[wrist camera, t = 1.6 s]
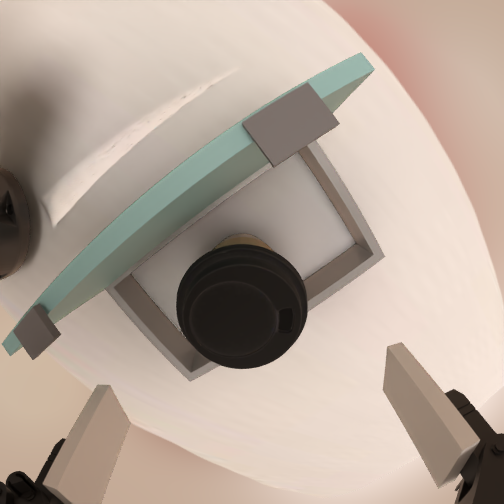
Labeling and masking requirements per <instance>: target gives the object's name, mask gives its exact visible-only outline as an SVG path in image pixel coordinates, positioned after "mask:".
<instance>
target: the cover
mask: <svg viewBox="0 0 504 504" xmlns="http://www.w3.org/2000/svg"><path fill="white" fill-rule="evenodd" d="M374 70H375V69H374V68H373V66H372V65H371V64H370V63H369V61H368V60H367V59H366V58H365V56H364V55H363V54H362V53H359V54H356V55H354V56H352V57H350V58H348V59H346V60H344V61H342V62H340V63H338V64H336V65H334V66H332V67H330V68H329V69H327V70H325V71H323V72H321V73H319V74H317V75H315V76H314V77H312V78H310V79H308V80H306V81H305V82H303V83H301V84H299V85H298V86H296V87H294V88H292V89H291V90H289V91H287V92H286V93H284V94H282V95H281V96H279V97H277V98H276V99H274V100H272V101H271V102H269V103H268V104H266V105H264V106H263V107H261V108H260V109H258V110H256V111H255V112H253V113H252V114H250V115H249V116H247V117H246V118H244V119H243V120H241V121H240V122H238V123H237V124H235V125H234V126H232V127H231V128H229V129H228V130H227V131H225V132H224V133H222V134H221V135H219V136H218V137H217V138H215V139H214V140H212V141H211V142H210V143H208V144H207V145H205V146H204V147H203V148H201V149H200V150H199V151H197V152H196V153H195V154H193V155H192V156H191V157H189V158H188V159H187V160H185V161H184V162H183V163H181V164H180V165H179V166H178V167H176V168H175V169H174V170H173V171H171V172H170V173H169V174H167V175H166V176H165V177H164V178H163V179H161V180H160V181H159V182H158V183H156V184H155V185H154V186H153V187H152V188H150V189H149V190H148V191H147V192H146V193H144V194H143V195H142V196H141V197H140V198H139V199H137V200H136V201H135V202H134V203H133V204H132V205H131V206H129V207H128V208H127V209H126V210H125V211H124V212H123V213H122V214H120V215H119V216H118V217H117V218H116V219H115V220H114V221H113V222H112V223H111V224H110V225H108V226H107V227H106V228H105V229H104V230H103V231H102V232H101V233H100V234H99V235H98V236H97V237H96V238H95V239H94V240H93V241H92V242H91V243H90V244H89V245H88V246H87V247H86V248H85V249H84V250H83V251H82V252H81V253H80V254H79V255H78V256H77V257H76V258H75V259H74V260H73V261H72V262H71V263H70V264H69V265H68V266H67V267H66V268H65V269H64V270H63V271H62V272H61V273H60V275H59V276H58V277H57V278H56V279H55V280H54V281H53V282H52V283H51V284H50V285H49V287H48V288H47V289H46V290H45V291H44V292H43V293H42V295H41V296H40V297H39V298H38V299H37V300H36V302H35V303H34V304H33V305H32V306H31V307H30V309H29V310H28V311H27V312H26V313H25V315H24V316H23V317H22V318H21V320H20V321H19V322H18V323H17V325H16V326H15V327H14V329H13V330H12V331H11V333H10V334H9V335H8V336H7V338H6V339H5V340H4V342H3V343H2V345H3V346H4V348H5V349H6V351H7V352H8V354H9V355H10V356H11V355H13V354H14V353H15V352H16V351H18V350H19V349H20V348H22V347H24V348H25V350H26V351H27V353H28V354H29V355H30V357H31V358H32V360H34V359H35V358H36V357H38V356H39V355H40V354H41V353H42V352H43V351H44V350H45V349H46V348H47V347H48V346H49V345H50V344H52V343H53V342H54V341H55V340H56V339H57V338H58V337H59V336H60V335H61V334H60V332H59V331H58V329H57V328H56V327H55V325H54V324H55V323H56V322H58V321H59V320H61V319H62V318H63V317H65V316H66V315H68V314H69V313H71V312H72V311H73V310H75V309H76V308H78V307H79V306H81V305H82V304H84V303H85V302H87V301H88V300H90V299H91V298H92V297H94V296H95V295H97V294H98V293H100V292H101V291H103V290H104V289H105V288H106V287H108V286H109V285H110V284H111V283H112V282H113V281H115V280H116V279H117V278H118V277H119V276H120V275H122V274H123V273H124V272H125V271H126V270H128V269H129V268H130V267H131V266H132V265H134V264H135V263H136V262H137V261H139V260H140V259H141V258H142V257H143V256H145V255H146V254H147V253H148V252H150V251H151V250H152V249H153V248H155V247H156V246H157V245H158V244H160V243H161V242H162V241H163V240H165V239H166V238H167V237H168V236H170V235H171V234H172V233H174V232H175V231H176V230H177V229H179V228H180V227H181V226H183V225H184V224H185V223H187V222H188V221H189V220H190V219H192V218H193V217H194V216H196V215H197V214H198V213H200V212H201V211H202V210H204V209H205V208H206V207H208V206H209V205H210V204H212V203H213V202H214V201H216V200H217V199H219V198H220V197H221V196H223V195H224V194H225V193H227V192H228V191H230V190H231V189H232V188H234V187H235V186H237V185H238V184H239V183H241V182H242V181H244V180H245V179H246V178H248V177H249V176H251V175H252V174H254V173H255V172H256V171H258V170H259V169H261V168H262V167H264V166H265V165H267V164H268V163H270V164H271V165H272V167H273V168H274V167H275V166H277V165H278V164H280V163H281V162H283V161H284V160H286V159H287V158H289V157H290V156H292V155H293V154H295V153H296V152H298V151H299V150H301V149H302V148H304V147H305V146H307V145H308V144H310V143H312V142H313V141H315V140H316V139H318V138H319V137H321V136H322V135H324V134H326V133H327V132H329V131H330V130H332V129H333V128H335V127H336V126H338V125H339V124H340V123H339V122H338V121H337V119H336V118H335V116H334V115H333V114H332V113H333V112H334V111H335V110H336V109H337V108H338V107H339V106H340V105H341V104H342V103H343V102H344V101H345V100H346V99H347V98H348V97H349V96H350V94H351V93H352V92H353V91H354V90H355V89H356V88H357V87H358V86H359V85H360V84H361V83H362V82H363V81H364V80H365V79H366V78H367V77H368V76H369V75H370V74H371V73H372V72H373V71H374Z"/></svg>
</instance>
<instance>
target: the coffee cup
mask: <svg viewBox="0 0 504 504" xmlns="http://www.w3.org/2000/svg"><path fill="white" fill-rule="evenodd" d="M176 310H177V318H178V322H179V325H180V328H181V330H182V332H183V334H184V335H185V337H186V338H187V340H188V341H189V342H190V344H191V345H192V346H193V347H194V348H195V349H196V350H197V351H198V352H199V353H200V354H201V355H203V356H204V357H205V358H207V359H208V360H210V361H212V362H214V363H216V364H219V365H221V366H225V367H229V368H235V369H249V368H256V367H260V366H263V365H266V364H268V363H270V362H272V361H274V360H276V359H278V358H279V357H280V356H282V355H283V354H284V353H285V352H286V351H287V350H288V349H289V348H290V347H291V346H292V345H293V344H294V343H295V341H296V340H297V339H298V337H299V336H300V334H301V332H302V330H303V328H304V325H305V322H306V318H307V312H308V302H307V293H306V289H305V285H304V283H303V280H302V278H301V276H300V275H299V273H298V272H297V270H296V269H295V268H294V267H293V265H292V264H291V263H290V262H288V261H287V260H286V259H285V258H284V257H282V256H281V255H279V254H277V253H276V252H274V251H273V250H272V249H271V248H270V247H269V246H268V245H267V244H265V243H264V242H262V241H261V240H260V239H259V238H257V237H255V236H253V235H250V234H235V235H232V236H229V237H228V238H226V239H225V240H224V241H222V242H221V243H220V244H219V245H217V246H216V247H215V248H214V249H213V250H212V251H210V252H208V253H206V254H205V255H203V256H202V257H200V258H199V259H198V260H197V261H195V262H194V263H193V264H192V265H191V266H190V268H189V269H188V270H187V272H186V273H185V275H184V276H183V278H182V280H181V282H180V285H179V288H178V292H177V302H176Z"/></svg>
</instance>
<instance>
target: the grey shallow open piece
mask: <svg viewBox="0 0 504 504" xmlns="http://www.w3.org/2000/svg"><path fill="white" fill-rule="evenodd" d="M298 152H299V153H300V155H301V156H302V158H303V159H304V160H305V162H306V163H307V165H308V166H309V168H310V169H311V171H312V172H313V174H314V175H315V177H316V178H317V180H318V181H319V183H320V185H321V186H322V188H323V189H324V191H325V192H326V194H327V195H328V197H329V199H330V200H331V202H332V203H333V205H334V207H335V208H336V210H337V211H338V213H339V215H340V216H341V218H342V220H343V221H344V223H345V225H346V226H347V228H348V230H349V231H350V233H351V235H352V237H353V238H354V240H355V242H356V244H355V245H354V246H352V247H351V248H350V249H348V250H347V251H345V252H344V253H343V254H341V255H340V256H338V257H337V258H336V259H334V260H333V261H331V262H330V263H329V264H327V265H326V266H324V267H323V268H321V269H320V270H319V271H317V272H316V273H314V274H313V275H311V276H310V277H308V278H307V279H305V280H304V281H303V283H304V285H305V289H306V293H307V302H308V311H309V310H311V309H312V308H314V307H315V306H317V305H318V304H320V303H321V302H323V301H324V300H326V299H327V298H329V297H330V296H331V295H333V294H334V293H336V292H337V291H339V290H340V289H342V288H343V287H344V286H346V285H347V284H349V283H350V282H351V281H353V280H354V279H356V278H357V277H358V276H360V275H361V274H362V273H364V272H365V271H367V270H368V269H369V268H371V267H372V266H373V265H375V264H376V263H377V262H379V261H380V260H381V259H383V258H384V257H385V256H384V254H383V252H382V250H381V248H380V246H379V244H378V242H377V240H376V238H375V237H374V235H373V233H372V231H371V229H370V227H369V226H368V224H367V222H366V220H365V218H364V217H363V215H362V213H361V211H360V210H359V208H358V206H357V204H356V203H355V201H354V199H353V198H352V196H351V194H350V193H349V191H348V189H347V188H346V186H345V184H344V183H343V181H342V180H341V178H340V176H339V175H338V173H337V172H336V170H335V168H334V167H333V165H332V164H331V162H330V161H329V159H328V158H327V156H326V155H325V153H324V152H323V150H322V149H321V147H320V146H319V144H318V143H317V141H316V140H315V141H313V142H312V143H310V144H308V145H307V146H305V147H304V148H302V149H301V150H299V151H298ZM270 168H272V165H271V164H270V163H268V164H267V165H265V166H264V167H262V168H261V169H259V170H258V171H256V172H255V173H254V174H252V175H251V176H249V177H248V178H246V179H245V180H244V181H242V182H241V183H239V184H238V185H237V186H235V187H234V188H232V189H231V190H230V191H228V192H227V193H225V194H224V195H223V196H221V197H220V198H219V199H217V200H216V201H214V202H213V203H212V204H210V205H209V206H208V207H206V208H205V209H204V210H202V211H201V212H200V213H198V214H197V215H196V216H194V217H193V218H192V219H190V220H189V221H188V222H187V223H185V224H184V225H183V226H181V227H180V228H179V229H177V230H176V231H175V232H174V233H172V234H171V235H170V236H168V237H167V238H166V239H165V240H163V241H162V242H161V243H160V244H158V245H157V246H156V247H155V248H153V249H152V250H151V251H150V252H148V253H147V254H146V255H145V256H143V257H142V258H141V259H140V260H139V261H137V262H136V263H135V264H134V265H132V266H131V267H130V268H129V269H128V270H126V271H125V272H124V273H123V274H122V275H120V276H119V277H118V278H117V279H116V280H115V281H113V282H112V283H111V284H110V285H109V286H108V287H106V288H105V289H106V291H107V292H108V293H109V294H110V296H111V297H112V298H113V299H114V300H115V302H116V303H117V304H118V305H119V306H120V308H121V309H122V310H123V311H124V312H125V314H126V315H127V316H128V317H129V318H130V319H131V321H132V322H133V323H134V324H135V325H136V326H137V327H138V328H139V330H140V331H141V332H142V333H143V334H144V335H145V336H146V337H147V338H148V339H149V341H150V342H151V343H152V344H153V345H154V346H155V347H156V348H157V349H158V350H159V351H160V352H161V353H162V354H163V355H164V356H165V357H166V358H167V359H168V360H169V361H170V362H171V363H172V364H173V365H174V366H175V367H176V368H177V369H178V370H179V371H180V372H181V373H182V374H183V375H184V376H185V377H186V378H187V379H188V380H189V381H190V382H191V381H192V380H194V379H196V378H198V377H200V376H202V375H204V374H205V373H207V372H209V371H211V370H213V369H214V368H216V367H218V366H220V365H219V364H216V363H214V362H212V361H210V360H208V359H207V358H205V357H204V356H203V355H201V354H200V353H199V352H198V351H197V350H196V349H195V348H194V347H193V346H192V345H191V344H190V343H189V342H188V340H187V339H186V338H185V337H184V336H183V335H182V334H181V333H180V332H179V331H178V330H177V328H176V327H175V326H174V325H173V324H172V323H171V322H170V321H169V319H168V318H167V317H166V316H165V315H164V314H163V313H162V311H161V310H160V309H159V308H158V307H157V306H156V304H155V303H154V302H153V301H152V300H151V298H150V297H149V296H148V295H147V294H146V292H145V291H144V290H143V289H142V288H141V286H140V285H139V284H138V283H137V281H136V280H135V279H134V278H133V276H132V275H131V274H130V273H132V272H133V271H134V270H135V269H136V268H138V267H139V266H140V265H141V264H143V263H144V262H145V261H146V260H148V259H149V258H150V257H151V256H153V255H154V254H155V253H156V252H158V251H159V250H160V249H161V248H163V247H164V246H165V245H166V244H168V243H169V242H170V241H172V240H173V239H174V238H175V237H177V236H178V235H179V234H181V233H182V232H183V231H185V230H186V229H187V228H189V227H190V226H191V225H192V224H194V223H195V222H196V221H198V220H199V219H200V218H202V217H203V216H204V215H206V214H207V213H209V212H210V211H211V210H213V209H214V208H215V207H217V206H218V205H219V204H221V203H222V202H223V201H225V200H226V199H228V198H229V197H230V196H232V195H233V194H235V193H236V192H237V191H239V190H240V189H242V188H243V187H244V186H246V185H247V184H249V183H250V182H251V181H253V180H254V179H256V178H257V177H259V176H260V175H262V174H263V173H264V172H266V171H267V170H269V169H270Z"/></svg>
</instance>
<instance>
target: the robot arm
mask: <svg viewBox="0 0 504 504" xmlns="http://www.w3.org/2000/svg"><path fill="white" fill-rule="evenodd" d="M29 241H30V218H29V211H28V206H27V202H26V198H25V195H24V193H23V190H22V188H21V186H20V184H19V182H18V181H17V179H16V178H15V177H14V176H13V174H12V173H10V172H9V171H8V170H6V169H4V168H1V167H0V280H2V279H4V278H6V277H8V276H10V275H12V274H14V273H15V272H16V271H18V270H19V268H20V267H21V266H22V264H23V262H24V260H25V258H26V255H27V252H28V247H29ZM383 391H384V393H385V394H386V396H387V398H388V399H389V401H390V403H391V405H392V406H393V408H394V410H395V411H396V413H397V415H398V417H399V418H400V420H401V422H402V423H403V425H404V427H405V429H406V430H407V432H408V434H409V436H410V438H411V439H412V441H413V443H414V445H415V446H416V448H417V450H418V452H419V454H420V455H421V457H422V459H423V461H424V463H425V465H426V466H427V468H428V470H429V472H430V474H431V476H432V477H433V479H434V481H435V483H436V485H437V487H438V489H439V488H441V487H443V486H445V485H447V484H448V483H451V482H452V481H454V480H455V479H456V478H457V476H458V475H459V474H461V475H462V477H463V479H462V480H461V482H460V483H459V484H458V486H457V487H456V489H455V491H457V490H458V489H459V491H458V494H457V498H456V501H455V504H504V434H502V433H501V434H497V433H495V431H494V430H493V429H492V428H491V427H490V425H489V424H488V423H487V422H486V421H485V420H484V418H483V417H482V416H481V415H480V413H479V412H478V411H477V410H475V407H474V406H473V405H472V404H470V401H469V400H468V399H467V398H466V397H465V395H464V394H462V393H460V392H458V391H456V390H454V389H453V390H451V391H449V392H447V393H444V392H443V391H442V390H441V389H440V387H439V386H438V385H437V384H436V383H435V381H434V380H433V379H432V378H431V376H430V375H429V374H428V373H427V372H426V370H425V369H424V368H423V367H422V366H421V364H420V363H419V362H418V361H417V360H416V359H415V357H414V356H413V355H412V354H411V353H410V351H409V350H408V349H407V348H406V347H405V346H404V344H403V343H402V342H401V343H398V344H394V345H391V346H387V356H386V366H385V376H384V384H383ZM130 424H131V422H130V421H129V419H128V417H127V415H126V414H125V412H124V410H123V408H122V407H121V405H120V403H119V401H118V399H117V397H116V396H115V394H114V392H113V390H112V388H111V386H110V385H97V387H96V388H95V390H94V392H93V393H92V395H91V397H90V398H89V400H88V402H87V403H86V405H85V407H84V408H83V410H82V412H81V414H80V415H79V417H78V419H77V420H76V422H75V424H74V426H73V428H72V429H71V431H70V433H69V435H68V436H67V438H66V439H63V438H62V439H61V440H60V441H59V442H58V443H57V444H56V445H55V446H54V448H53V450H52V452H51V455H49V457H48V461H46V463H45V465H44V466H43V468H42V470H41V472H40V474H39V476H38V478H37V479H36V481H35V483H34V482H33V481H32V480H31V479H30V478H29V477H28V476H27V475H26V474H25V473H24V472H21V471H16V472H13V473H12V474H10V475H9V476H8V478H7V480H6V485H5V484H4V483H2V482H0V504H101V503H102V500H103V497H104V494H105V492H106V489H107V486H108V483H109V480H110V477H111V474H112V472H113V469H114V466H115V464H116V461H117V458H118V455H119V453H120V450H121V447H122V445H123V442H124V440H125V437H126V434H127V432H128V429H129V427H130Z"/></svg>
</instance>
